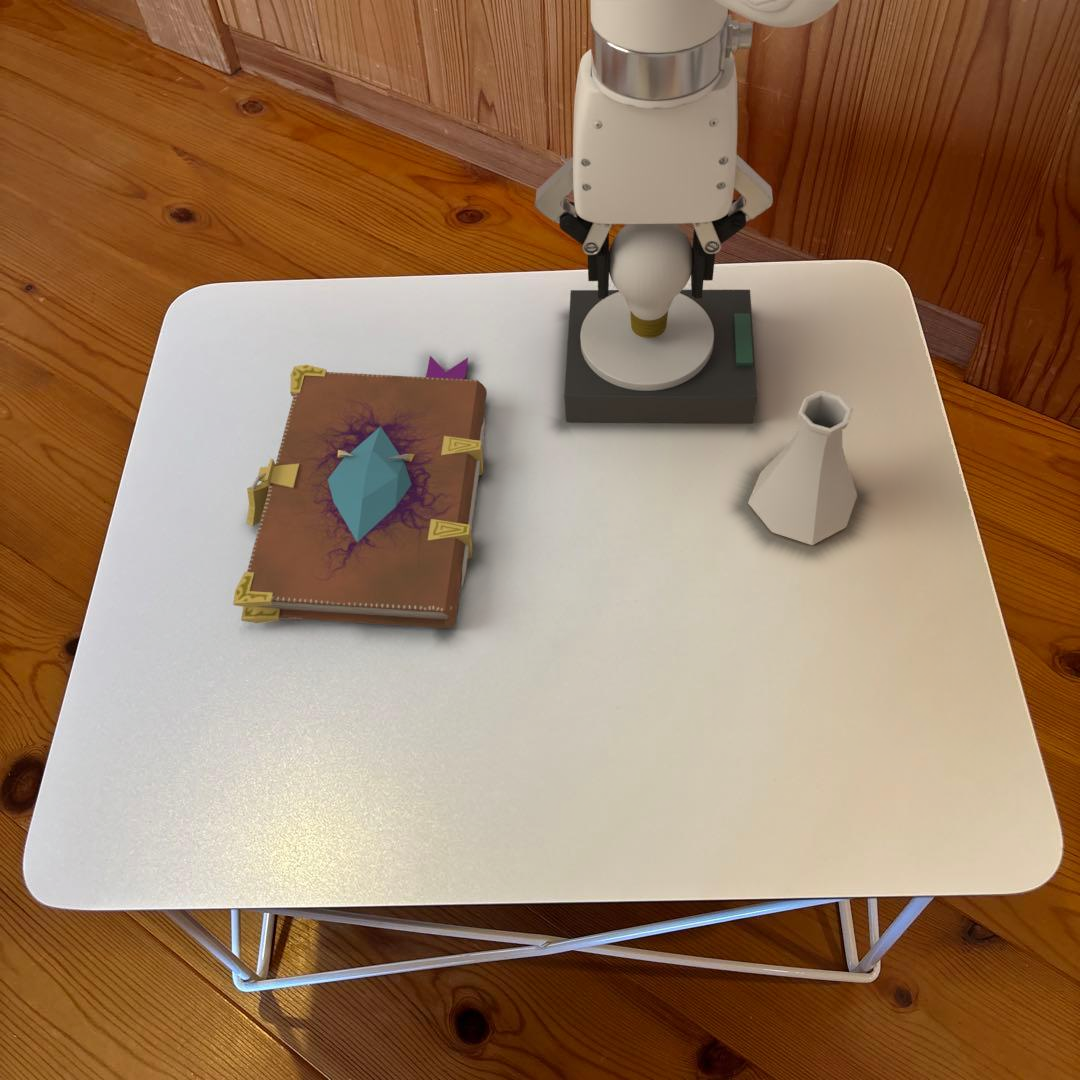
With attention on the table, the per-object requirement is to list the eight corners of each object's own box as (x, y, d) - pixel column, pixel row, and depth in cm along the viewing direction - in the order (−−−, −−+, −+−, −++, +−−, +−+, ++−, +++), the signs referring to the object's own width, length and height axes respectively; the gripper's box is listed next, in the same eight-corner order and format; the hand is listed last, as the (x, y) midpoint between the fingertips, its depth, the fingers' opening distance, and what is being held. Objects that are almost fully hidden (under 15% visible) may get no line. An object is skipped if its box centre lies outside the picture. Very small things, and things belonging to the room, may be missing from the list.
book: (497, 367, 83) (494, 322, 79) (462, 643, 70) (456, 607, 66) (296, 357, 84) (283, 312, 80) (223, 627, 71) (203, 591, 67)
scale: (746, 316, 83) (751, 281, 80) (753, 423, 78) (758, 389, 74) (572, 317, 85) (570, 282, 81) (565, 422, 79) (563, 389, 76)
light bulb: (596, 320, 79) (592, 214, 70) (665, 295, 80) (670, 187, 71) (630, 372, 76) (631, 268, 67) (702, 345, 77) (711, 239, 68)
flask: (729, 506, 74) (743, 416, 65) (789, 444, 76) (811, 350, 68) (815, 563, 71) (841, 476, 62) (874, 496, 73) (908, 404, 65)
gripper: (807, 4, 60) (769, 247, 75) (510, 13, 61) (532, 249, 77) (818, 83, 56) (776, 323, 71) (500, 90, 57) (525, 323, 73)
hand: (649, 283), depth 74 cm, fingers closed on light bulb, 5 cm apart
